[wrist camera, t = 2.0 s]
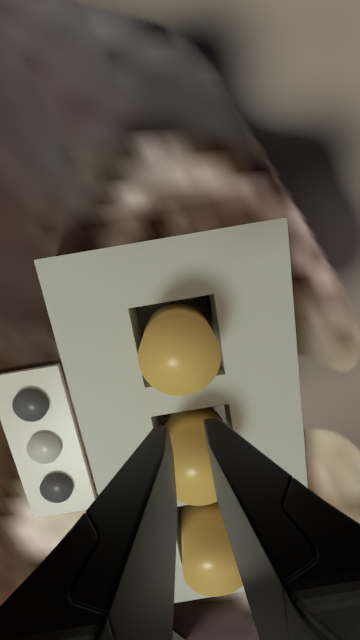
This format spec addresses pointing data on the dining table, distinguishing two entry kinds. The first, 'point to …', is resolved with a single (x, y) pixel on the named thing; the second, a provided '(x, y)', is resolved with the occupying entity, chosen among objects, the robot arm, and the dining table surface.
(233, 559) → the button
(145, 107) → the dining table surface
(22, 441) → the card
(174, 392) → the button
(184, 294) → the board
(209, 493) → the button
